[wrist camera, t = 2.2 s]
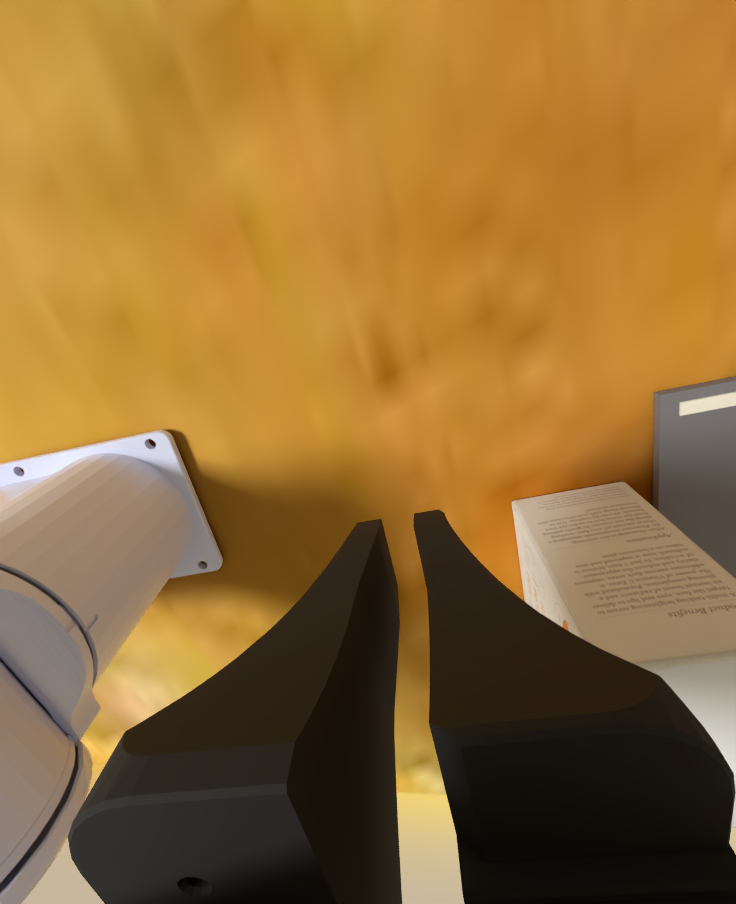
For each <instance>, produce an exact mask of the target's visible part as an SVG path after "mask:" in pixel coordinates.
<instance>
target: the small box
mask: <svg viewBox="0 0 736 904" xmlns="http://www.w3.org/2000/svg"><path fill="white" fill-rule="evenodd" d="M512 509H513V516H514V524H515V531H516V539H517V546H518V554H519V561H520V569H521V577H522V585H523V592H524V599H525V602H526V603H527V604H528V605H530V606H531V607H532V608H534V609H535V610H537V611H538V612H539V613H541V614H542V615H544V616H546V617H547V618H549V619H550V620H552V621H553V622H555V623H557V624H558V625H560V626H561V627H563V628H564V629H566V630H568V631H569V632H571V633H573V634H574V635H576V636H578V637H580V638H582V639H584V640H585V641H587V642H589V643H591V644H593V645H595V646H597V647H598V648H600V649H602V650H604V651H607V652H609V653H611V654H613V655H615V656H618V657H620V658H622V659H624V660H626V661H629V662H631V663H633V664H635V665H637V666H640V667H642V668H644V669H646V670H648V671H651V672H653V673H655V674H657V675H659V676H660V677H662V678H663V680H664V681H665V682H666V683H667V684H668V685H669V686H670V687H671V689H672V690H673V691H674V692H675V693H676V694H677V696H678V697H679V698H680V699H681V700H682V701H683V702H684V704H685V705H686V706H687V707H688V708H689V710H690V711H691V712H692V713H693V714H694V716H695V717H696V718H697V719H698V720H699V722H700V723H701V724H702V725H703V727H704V728H705V729H706V731H707V732H708V733H709V735H710V736H711V738H712V739H713V740H714V742H715V743H716V745H717V747H718V748H719V750H720V751H721V753H722V755H723V756H724V758H725V760H726V761H727V763H728V765H729V766H730V768H731V770H732V771H733V773H734V781H735V791H736V579H735V578H734V577H733V576H732V575H731V574H730V573H729V572H728V571H726V570H725V569H724V568H723V567H722V566H721V565H719V564H718V563H717V562H716V561H715V560H714V559H713V558H712V557H710V556H709V555H708V554H707V553H706V552H704V551H703V550H702V549H701V548H700V547H699V546H698V545H696V544H695V543H694V542H693V541H692V540H691V539H690V538H688V537H687V536H686V535H685V534H684V533H683V532H682V531H680V530H679V529H678V528H677V527H676V526H675V525H674V524H673V523H671V522H670V521H669V520H668V519H667V518H666V517H664V516H663V515H662V514H661V513H660V512H659V511H658V510H656V509H655V508H654V507H653V506H652V505H651V504H650V503H648V502H647V501H646V500H645V499H644V498H643V497H641V496H640V495H639V494H638V493H637V492H636V491H635V490H633V489H632V488H631V487H630V486H629V485H628V484H627V483H625V482H616V483H611V484H605V485H599V486H593V487H587V488H582V489H576V490H570V491H565V492H559V493H553V494H548V495H542V496H536V497H531V498H525V499H519V500H514V501H513V502H512ZM734 827H736V794H735V801H734V809H733V817H732V824H731V828H734Z"/></svg>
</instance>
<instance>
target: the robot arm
mask: <svg viewBox="0 0 736 904" xmlns="http://www.w3.org/2000/svg"><path fill="white" fill-rule="evenodd" d="M149 439H152V440H153V441H154V442H155V443H156V446H152V445H151V444H150V443H149ZM20 468H22V469H23V470H24V472H22V471H21V470H20ZM414 530H415V535H416V539H417V544H418V549H419V553H420V558H421V563H422V567H423V572H424V577H425V581H426V586H427V592H428V609H429V634H430V710H429V724H430V729H431V733H432V737H433V741H434V745H435V749H436V753H437V757H438V761H439V765H440V769H441V773H442V777H443V781H444V785H445V790H446V794H447V798H448V802H449V806H450V810H451V814H452V818H453V822H454V826H455V830H456V834H457V843H458V853H459V862H460V872H461V881H462V891H463V897H464V902H465V904H736V855H735V853H734V851H733V849H732V848H731V846H730V844H729V840H730V832H731V824H732V817H733V809H734V801H735V794H736V791H735V781H734V773H733V771H732V770H731V768H730V766H729V765H728V763H727V761H726V760H725V758H724V756H723V755H722V753H721V751H720V750H719V748H718V747H717V745H716V743H715V742H714V740H713V739H712V738H711V736H710V735H709V733H708V732H707V731H706V729H705V728H704V727H703V725H702V724H701V723H700V722H699V720H698V719H697V718H696V717H695V716H694V714H693V713H692V712H691V711H690V710H689V708H688V707H687V706H686V705H685V704H684V702H683V701H682V700H681V699H680V698H679V697H678V696H677V694H676V693H675V692H674V691H673V690H672V689H671V687H670V686H669V685H668V684H667V683H666V682H665V681H664V680H663V678H662V677H660V676H659V675H657V674H655V673H653V672H651V671H648V670H646V669H644V668H642V667H640V666H637V665H635V664H633V663H631V662H629V661H626V660H624V659H622V658H620V657H618V656H615V655H613V654H611V653H609V652H607V651H604V650H602V649H600V648H598V647H597V646H595V645H593V644H591V643H589V642H587V641H585V640H584V639H582V638H580V637H578V636H576V635H574V634H573V633H571V632H569V631H568V630H566V629H564V628H563V627H561V626H560V625H558V624H557V623H555V622H553V621H552V620H550V619H549V618H547V617H546V616H544V615H542V614H541V613H539V612H538V611H537V610H535V609H534V608H532V607H531V606H530V605H528V604H527V603H526V602H524V601H523V600H522V599H520V598H519V597H518V596H517V595H515V594H514V593H513V592H512V591H511V590H509V589H508V588H507V587H506V586H505V585H503V584H502V583H501V582H500V581H499V580H498V579H497V578H496V577H495V576H493V575H492V574H491V573H490V572H489V571H488V570H487V569H486V568H485V567H484V566H483V565H482V564H481V563H480V562H479V561H478V559H477V558H476V557H475V556H474V555H473V554H472V553H471V552H470V550H469V549H468V548H467V547H466V546H465V545H464V543H463V542H462V541H461V540H460V538H459V537H458V536H457V534H456V533H455V532H454V530H453V529H452V527H451V526H450V524H449V523H448V521H447V519H446V517H445V514H444V513H443V512H442V511H440V510H434V511H428V512H421V513H415V514H414ZM201 561H204V562H206V563H207V565H204V564H202V563H201ZM222 563H223V558H222V556H221V553H220V551H219V548H218V546H217V544H216V541H215V539H214V536H213V534H212V531H211V529H210V526H209V524H208V521H207V519H206V517H205V514H204V512H203V509H202V507H201V504H200V502H199V499H198V497H197V495H196V492H195V490H194V487H193V485H192V482H191V480H190V477H189V475H188V473H187V470H186V468H185V465H184V463H183V460H182V458H181V455H180V453H179V451H178V448H177V446H176V443H175V441H174V438H173V437H172V435H171V434H170V433H169V432H168V431H165V430H157V431H152V432H147V433H143V434H138V435H133V436H128V437H124V438H119V439H114V440H109V441H105V442H100V443H95V444H90V445H86V446H81V447H76V448H71V449H67V450H62V451H57V452H53V453H48V454H43V455H38V456H34V457H29V458H24V459H19V460H15V461H10V462H5V463H1V464H0V904H21V903H22V902H23V901H24V899H25V898H26V897H27V896H28V895H29V893H30V892H31V891H32V890H33V889H34V887H35V886H36V885H37V883H38V882H39V881H40V879H41V878H42V877H43V875H44V874H45V873H46V871H47V870H48V868H49V867H50V866H51V864H52V862H53V861H54V859H55V858H56V856H57V855H58V853H59V852H60V850H61V848H62V846H63V845H64V843H65V841H66V839H67V838H68V840H69V847H70V853H71V857H72V860H73V861H74V863H75V865H76V866H77V868H78V870H79V871H80V873H81V874H82V876H83V877H84V878H85V879H86V881H87V882H88V883H89V884H90V886H91V887H92V888H93V889H94V891H95V892H96V893H97V894H98V896H99V897H100V898H101V899H102V901H103V902H104V903H105V904H402V894H401V877H400V876H401V875H400V858H399V838H398V818H397V797H396V771H395V741H394V708H395V692H396V676H397V659H398V642H399V624H400V619H399V602H398V587H397V581H396V577H395V573H394V569H393V565H392V561H391V557H390V553H389V549H388V544H387V540H386V536H385V532H384V528H383V524H382V520H381V519H378V520H372V521H366V522H360V523H357V525H356V526H355V527H354V529H353V530H352V531H351V533H350V534H349V536H348V537H347V539H346V540H345V542H344V543H343V545H342V546H341V547H340V549H339V550H338V552H337V553H336V555H335V556H334V557H333V559H332V560H331V561H330V563H329V564H328V566H327V567H326V568H325V570H324V571H323V572H322V574H321V575H320V576H319V577H318V579H317V580H316V581H315V582H314V583H313V585H312V586H311V587H310V588H309V589H308V591H307V592H306V593H305V594H304V596H303V597H302V598H301V599H300V600H299V601H298V602H297V603H296V604H295V605H294V606H293V607H292V609H291V610H290V611H289V612H288V613H287V614H286V615H285V616H284V617H283V618H282V619H281V620H280V621H279V622H277V623H276V624H275V625H274V626H273V627H272V628H271V629H270V630H269V631H268V632H267V633H266V634H264V635H263V636H262V637H261V638H260V639H259V640H257V641H256V642H255V643H254V644H253V645H251V646H250V647H249V648H248V649H247V650H246V651H244V652H243V653H242V654H241V655H240V656H239V657H237V658H236V659H235V660H234V661H232V662H231V663H230V664H228V665H227V666H226V667H224V668H223V669H222V670H220V671H219V672H218V673H216V674H215V675H214V676H212V677H211V678H209V679H208V680H206V681H205V682H204V683H202V684H201V685H199V686H198V687H196V688H195V689H194V690H192V691H191V692H189V693H188V694H186V695H185V696H183V697H182V698H180V699H178V700H177V701H175V702H174V703H172V704H170V705H169V706H167V707H165V708H164V709H162V710H161V711H159V712H157V713H156V714H154V715H152V716H151V717H149V718H148V719H146V720H144V721H143V722H141V723H139V724H138V725H136V726H134V727H132V728H131V729H129V730H127V731H126V732H125V733H124V735H123V736H122V738H121V740H120V741H119V743H118V745H117V746H116V748H115V750H114V752H113V753H112V755H111V757H110V758H109V760H108V762H107V764H106V765H105V767H104V769H103V770H102V772H101V774H100V776H99V777H98V779H97V781H96V782H95V784H94V786H93V788H92V789H91V791H90V793H89V795H88V797H87V798H86V796H87V793H88V790H89V786H90V781H91V777H92V759H91V755H90V752H89V750H88V749H87V747H86V746H85V745H84V744H83V743H82V742H81V741H80V740H81V738H82V737H83V735H84V734H85V732H86V731H87V729H88V728H89V726H90V725H91V723H92V721H93V720H94V718H95V717H96V715H97V714H98V712H99V711H100V709H101V708H100V705H99V704H98V702H97V701H96V700H95V697H94V695H93V691H92V688H93V686H94V685H95V683H96V682H97V681H98V679H99V678H100V676H101V675H102V673H103V672H104V671H105V669H106V668H107V666H108V665H109V663H110V662H111V661H112V659H113V658H114V656H115V655H116V654H117V652H118V651H119V649H120V648H121V646H122V645H123V644H124V642H125V641H126V639H127V638H128V636H129V635H130V634H131V632H132V631H133V629H134V628H135V626H136V625H137V624H138V622H139V621H140V619H141V618H142V616H143V615H144V614H145V612H146V611H147V609H148V608H149V606H150V605H151V604H152V602H153V601H154V599H155V598H156V597H157V595H158V594H159V592H160V591H161V589H162V588H163V587H164V585H165V584H166V582H167V581H168V579H170V578H176V577H182V576H188V575H194V574H199V573H205V572H211V571H216V570H218V569H219V568H220V567H221V565H222ZM85 798H86V800H85Z"/></svg>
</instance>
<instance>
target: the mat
mask: <svg viewBox="0 0 736 904" xmlns="http://www.w3.org/2000/svg"><path fill="white" fill-rule="evenodd" d="M653 507H654V508H655V509H656V510H658V511H659V512H660V513H661V514H662V515H663V516H664V517H666V518H667V519H668V520H669V521H670V522H671V523H673V524H674V525H675V526H676V527H677V528H678V529H679V530H680V531H682V532H683V533H684V534H685V535H686V536H687V537H688V538H690V539H691V540H692V541H693V542H694V543H695V544H696V545H698V546H699V547H700V548H701V549H702V550H703V551H704V552H706V553H707V554H708V555H709V556H710V557H712V558H713V559H714V560H715V561H716V562H717V563H718V564H719V565H721V566H722V567H723V568H724V569H725V570H726V571H728V572H729V573H730V574H731V575H732V576H733V577H734V578H735V579H736V376H735V377H730V378H725V379H719V380H714V381H709V382H704V383H699V384H694V385H689V386H683V387H678V388H673V389H668V390H663V391H658V392H654V445H653Z"/></svg>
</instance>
